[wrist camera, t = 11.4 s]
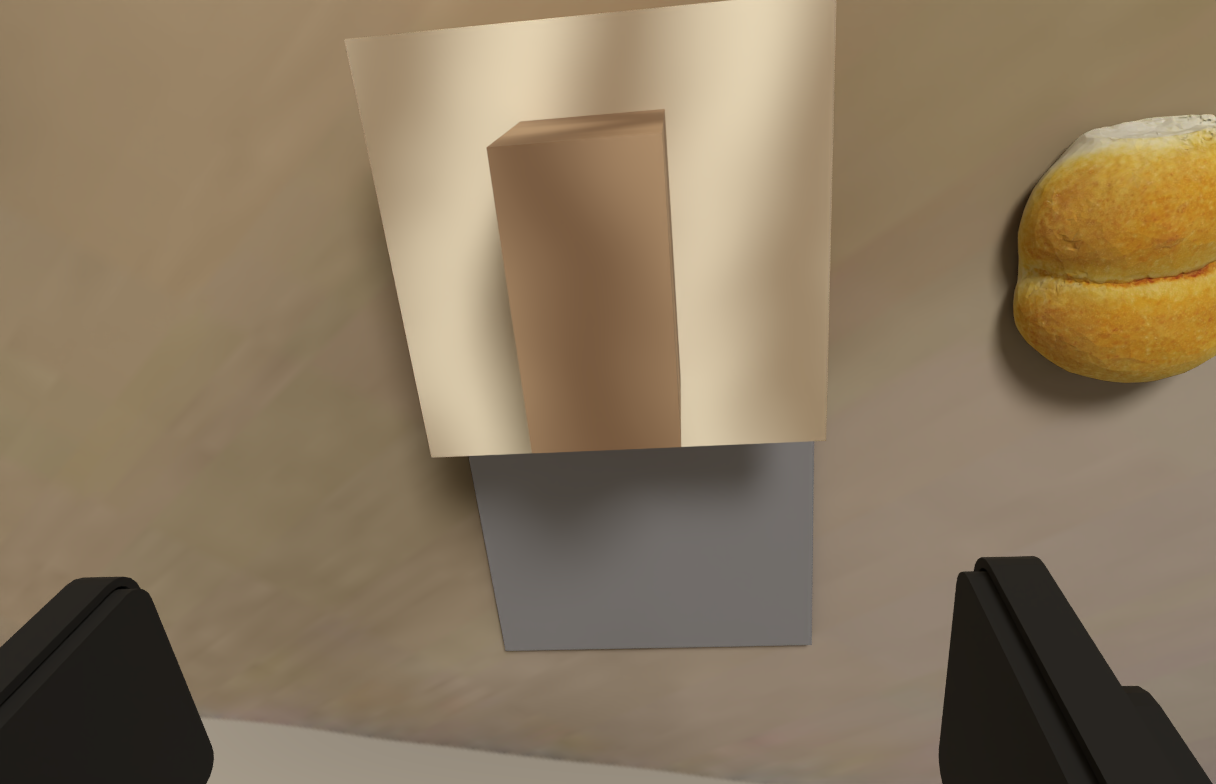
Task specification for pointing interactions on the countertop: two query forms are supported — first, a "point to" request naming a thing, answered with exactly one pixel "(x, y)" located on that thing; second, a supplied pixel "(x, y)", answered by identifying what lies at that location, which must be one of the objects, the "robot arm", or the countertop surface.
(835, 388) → the countertop surface
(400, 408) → the countertop surface
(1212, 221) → the bread roll
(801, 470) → the rubber mat
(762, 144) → the birch lid
